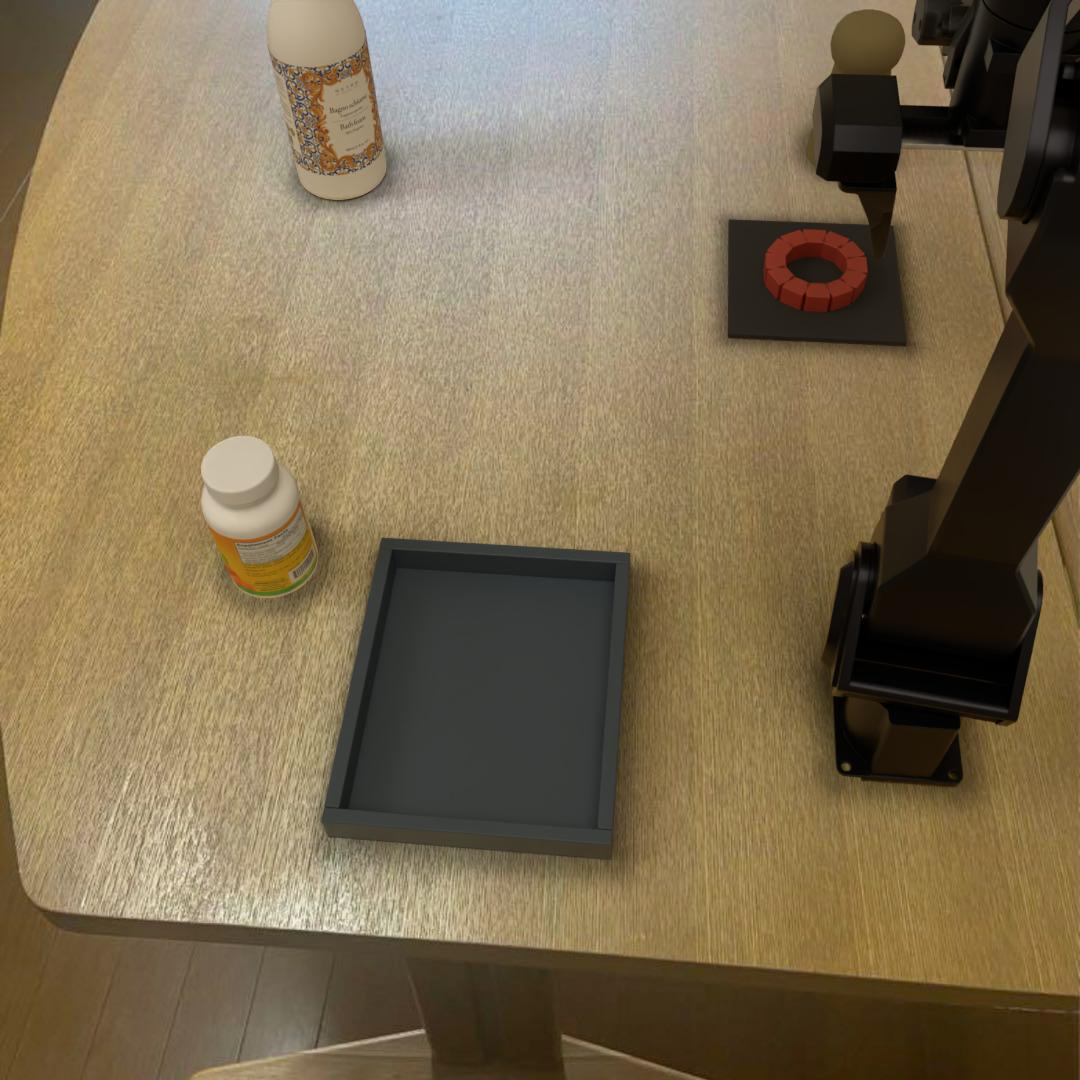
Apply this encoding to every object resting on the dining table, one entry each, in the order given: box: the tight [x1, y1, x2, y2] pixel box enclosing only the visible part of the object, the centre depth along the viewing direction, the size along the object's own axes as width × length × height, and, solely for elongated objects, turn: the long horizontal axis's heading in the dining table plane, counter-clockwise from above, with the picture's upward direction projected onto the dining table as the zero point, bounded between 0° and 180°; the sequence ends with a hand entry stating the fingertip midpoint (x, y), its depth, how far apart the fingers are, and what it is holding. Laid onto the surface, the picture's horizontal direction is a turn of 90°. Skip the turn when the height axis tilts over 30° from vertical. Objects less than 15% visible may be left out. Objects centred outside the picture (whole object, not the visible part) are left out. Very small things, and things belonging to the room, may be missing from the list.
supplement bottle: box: [200, 435, 319, 599], centre depth 68 cm, size 5×5×10 cm
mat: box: [727, 218, 908, 347], centre depth 85 cm, size 12×12×1 cm
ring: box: [764, 229, 868, 312], centre depth 84 cm, size 7×7×1 cm
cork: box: [805, 8, 906, 166], centre depth 89 cm, size 6×6×11 cm
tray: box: [320, 537, 631, 861], centre depth 65 cm, size 18×15×2 cm
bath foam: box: [265, 0, 387, 201], centre depth 85 cm, size 7×7×20 cm
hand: (958, 258), depth 68 cm, fingers open, 9 cm apart
